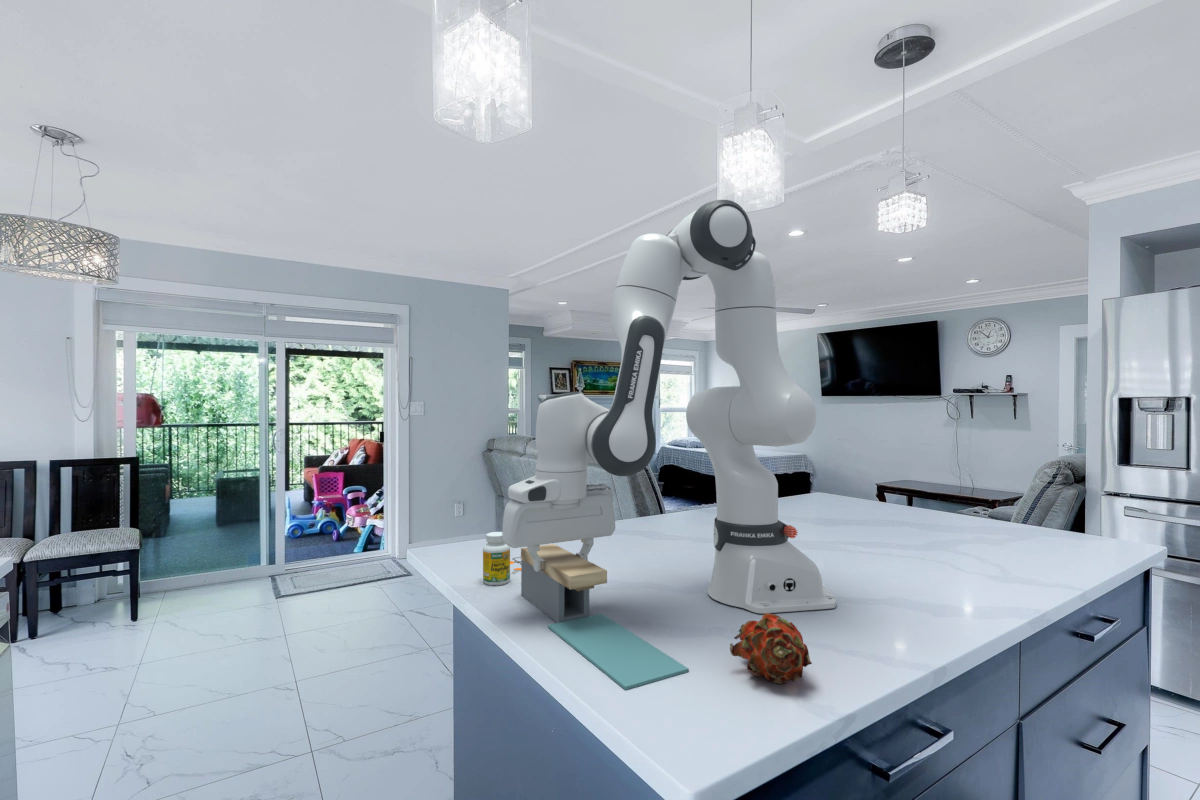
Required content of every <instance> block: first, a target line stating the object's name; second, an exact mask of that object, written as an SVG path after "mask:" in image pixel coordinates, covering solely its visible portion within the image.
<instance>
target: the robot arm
mask: <svg viewBox="0 0 1200 800" xmlns="http://www.w3.org/2000/svg"><path fill="white" fill-rule="evenodd" d="M756 244H757V241H756V239H755V237H754V235H753V227H752V224H751V221H750V217H749V216H748V214H747V212H746V211H745V210H744V209H743V206H741V205H739V204H738V203H737V202H735V201H733V200H730V199H716V200H712V201H709V202H706V203H704V204H703V205H701V206H700V207H699V208H698V209H696V210H694V211H692V212H691V213H689V214H688V215H686V216H685V217H684V218H682V220H681V221H680V222H679V223H678V224H677V225H676V226H675V227H674V228H672V229H671V230H670V231H669V232H668V233H666V235H664V234H661V233H657V232H656V233H651V232H650V233H645V234H642V235H639V236H638V237H637V238H635V239H634V240H633V241H632V243H631V245H630V246H629V249H628V251H627V254H626V256H625V257H624V260H623V263H622V266H621V268H620V272H619V275H618V277H617V282H616V284H615V285H616V286H615V289H614V292H613V297H612V303H611V313H610V327H611V330H612V332H613V334H614V335H615V336H616V338H617V339H618V342H619V346H620V350H621V359H620V366H619V372H618V375H617V381H616V386H615V391H614V395H613V400H612V403H611V406H610V407H609V408H607V407H604V406H603V405H600V404H598V403H596V402H595V401H592V400H591V399H589V398H588V397H587V396H585V395H584V394H583V393H582V392H579V391H571V392H565V393H557V394H553V395H549V396H547V397H546V398H544V399H542V401H541V402H540V403H539V405H538V409H537V413H536V414H537V415H536V422H535V447H536V452H537V461H536V464H535V473H534V474H535V475H533V476H531V477H529V478H526V479H524V480H521V481H519V482H516V483H514V484H511V485H510V486H509V487H508V489H507V495H508V497H509V498H510V499H511V500H509V501H508V502H507V503H506V505H505V508H504V511H503V518H502V531H501V532H502V538H503V541H504V542H505V543H506V544H507V545H508V546H510V548H512V549H518V548H526V547H527V550H528V552H529V554H530V555H531V557H532V559H533V567H534V570H535V571H536V572H538V571H544V570H545V569H546V567H545V565H546V560H543V559H542V558H539V556H538V554H537V552H536V551H540V546H541V545H549V544H557V543H558V544H559V543H564V542H566V543H567V542H573V541H580V542H581V543H582V546H581V548H580V550H579V552H576V553H575V555H577V556H579V557H581V558H583V559H585V560H587V561H588V560H589V559H588V555H589V554H590V552H591V549H592V548H593V546H594V538H603V537H610V536H613V534H614V532H615V531H616V518H615V510H614V490H613V488H612V487H611V486H609V485H607V484H606V483H598V484H596V483H594V484H593V483H591V484H590V483H589V484H587V483H588V481H587V479H588V478H587V477H588V473H587V471H588V464H590V463H591V464H593V463H594V464H598V465H599V466H600V468H602V469H603V470H604V471H605V472H607V473H609V474H611V475H614V476H617V477H629V476H633V475H636V474H638V473H640V472H641V471H643V470H644V469H645V468H646V467H647V466H648V465H649V464H650V463H651V462H652V459H653V457H654V455H655V452H656V446H657V445H656V443H657V441H656V440H657V439H656V432H655V428H654V419H653V408H654V401H655V397H656V396H655V395H656V391H657V385H658V379H659V374H660V368H661V362H662V355H663V350H664V347H665V342H666V340H667V335H668V332H669V329H670V326H671V322H672V319H673V315H674V312H675V308H676V304H677V299H678V294H679V289H680V285H681V284H682V282H683V281H692V280H698V279H699V278H702V277H704V276H706V275H707V277H708V279H709V280H710V283H711V284H712V287H713V290H714V295H715V296H714V297H715V299H714V325H715V327H714V329H715V333H714V334H715V337H714V338H715V351H716V354H717V355H718V357H719V358H720V360H722V361H723V362H724V363H726V364H728V365H730V366H731V367H732V368H733V369H734V371H735V373H736V374H737V377H738V380H739V385H737V386H735V385H734V386H716V387H712V388H707V389H704V390H701V391H698V392H696V393H694V394H693V395H692V396H691V398H689V401H688V404H687V406H686V410H685V411H686V412H685V418H686V423H687V426H688V429H689V431H690V432H691V434H693V435H694V437H696V438H697V440H699V442H700V443H701V444H702V446H703V447H704V449H705V451H706V453H707V455H708V457H709V460H710V463H711V465H712V469H713V472H714V477H715V492H716V494H715V495H716V516H715V518H714V523H713V545H714V548H715V552H714V554H715V555H714V562H713V568H712V574H711V579H710V582H709V587H708V589H707V593H708V594H707V595H709V597H710V598H711V599H713V600H714V601H717V602H720V603H722V604H725V605H729V606H732V607H737V608H741V609H744V610H747V611H750V612H753V613H756V614H764V613H770V614H773V613H775V614H776V613H788V612H802V611H815V610H816V611H817V610H828V609H829V610H830V609H835V608H836V606H837V598H836V596H835V595H834V593H833V592H832V591H830V590H829V589H828V588H826V587H825V586H824V585H823V580H822V575H821V572H820V569H819V568H818V566H817V564H816V563H815V562H814V561H813V560H812V559H811V558H809V557H808V556H807V555H806V554H804V552H802V551H801V550H800V549H798V548H797V547H796V546H795V545H794V544H792V543H791V542H790V541H788V540H789V538H790V539H795V538H796V537H797V536H798V533H799V532H798V529H796V527H794V526H793V525H791V524H790V525H789V524H786V523H784V522H782V521H781V520H779V483H778V480H777V478H776V476H775V474H774V473H773V472H772V471H771V470H770V469H769V468H768V467H766V466H764V465H763V464H762V462H760V460H759V459H758V457H757V454H756V452H755V449H754V446H762V447H776V448H777V447H784V446H785V447H786V446H791V445H796V444H801V443H804V442H806V441H807V440H808V438H809V437H810V436H811V435H812V432H813V431H814V428H815V426H816V423H817V410H816V406H815V403H814V401H813V399H812V397H811V396H810V395H809V393H808V392H807V391H806V390H804V389H802V388H801V387H800V386H799V385H798V384H797V383H796V382H795V381H794V380H793V379H792V377H791V376H790V375H789V373H788V371H787V369H786V367H785V365H784V363H783V361H782V358H781V354H780V350H779V342H778V341H779V340H778V330H777V299H776V289H775V281H774V276H773V272H772V266H771V262H770V261H769V259H768V258H767V256H766V255H765V254H763V253H761V252H759V251H755V250H756Z"/></svg>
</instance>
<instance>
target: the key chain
mask: <svg viewBox="0 0 1200 800" xmlns="http://www.w3.org/2000/svg"><path fill="white" fill-rule="evenodd" d="M516 559H517V560H516ZM518 559H521V556H516V557H512V560H513V561H511V560H510V565H513V564H514V563H519V565H521V560H518ZM518 572H521V567H516V568H514V569H513V571H512V572H511V575H512V574H513V575H516V574H517V573H518Z"/></svg>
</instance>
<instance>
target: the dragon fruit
mask: <svg viewBox="0 0 1200 800" xmlns="http://www.w3.org/2000/svg"><path fill="white" fill-rule="evenodd" d="M737 632H739V633H738V634H737V635H735V636H734V638H733V639H735V640H737V639H739V640H740V641H738V642H736V643H735V644H733V643H729V652H730V654H731V655H732V656H733V657H739V658H742V659H744V660H748V663H747V667H746V670H747V671H748V672H749V673H750V674H751V675H753V677H756V678H757V677H763V676H764V677H765V679H766V680H767V681H770V682H772V683H775V684H780V685H784V684H786V683H787V681H790V682H797V681H799V680H800V679H802V678H803V672H804V668H807V666H809V665H811V664H812V663H813V662H812V661H811V659H810V653H809V648H808V645H807V644H806V643H805V642H804V638H803V635H802V633H801V632H800V631H799V629H798V628H797V627H796V626H795V624H794V623H793V622H792V621H791V622H789V621H788V620H787V619H786V618H783V617H781V616H779V615H776V614H773V613H763V615H762V617H761V619H760V620H759V621H757V620H748V621H746V622H745V623H744V624H741V626H740V628H739V629H738V631H737Z"/></svg>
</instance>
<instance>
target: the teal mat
mask: <svg viewBox="0 0 1200 800" xmlns="http://www.w3.org/2000/svg"><path fill="white" fill-rule="evenodd" d="M547 629H549V630H550V631H551V632H553V633H554V634H555V635H557V636H558V637H559V638H560V639H562V640H563V642H564V643H566V644H567V645H569V646H570V647H571V648H572V649H573V650H575V651H577V652H578V654H580V655H581V656H582V657H584V658H585V659H586V660H587V661H588V662H589V663H591V664H592V665H594V667H596V668H597V669H598V670H599V671H601V672H602V673H603V674H605V676H607V677H608V678H610V679H611V680H612V681H614V683H616V684H617V685H618V686H619V687H621V688H622V689H623V690H625V691H627V690H631V689H634V688H636V687H637V688H638V687H640V686H644V685H647V684H650V683H655V682H658V681H662V680H666V679H668V678H671V677H672V678H673V677H675V676H678V675H679V676H680V675H681V674H686V673H688V672H690V670H689V669H690V668H688V667H687V666H685V665H684V664H682V663H681V662H679V661H678V660H677V659H674V658H672V657H671V656H669V655H668V654H666V653H665V652H664V651H662V650H661V649H659V648H657V647H656V646H654V645H653V644H651V643H649V642H648V641H646V640H644V639H642V638H641V637H640V636H639V635H636V634H635V633H634V632H632V631H630V630H628V628H625V627H624V626H623V625H621V624H619V623H617V622H616V621H614V620H613V619H611V618H610V617H608V616H607V615H605V614H603V613H599V614H594V615H589V616H588V617H583V618H579V619H574V620H569V621H564V622H559V623H557V622H555V623H550V624H547Z"/></svg>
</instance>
